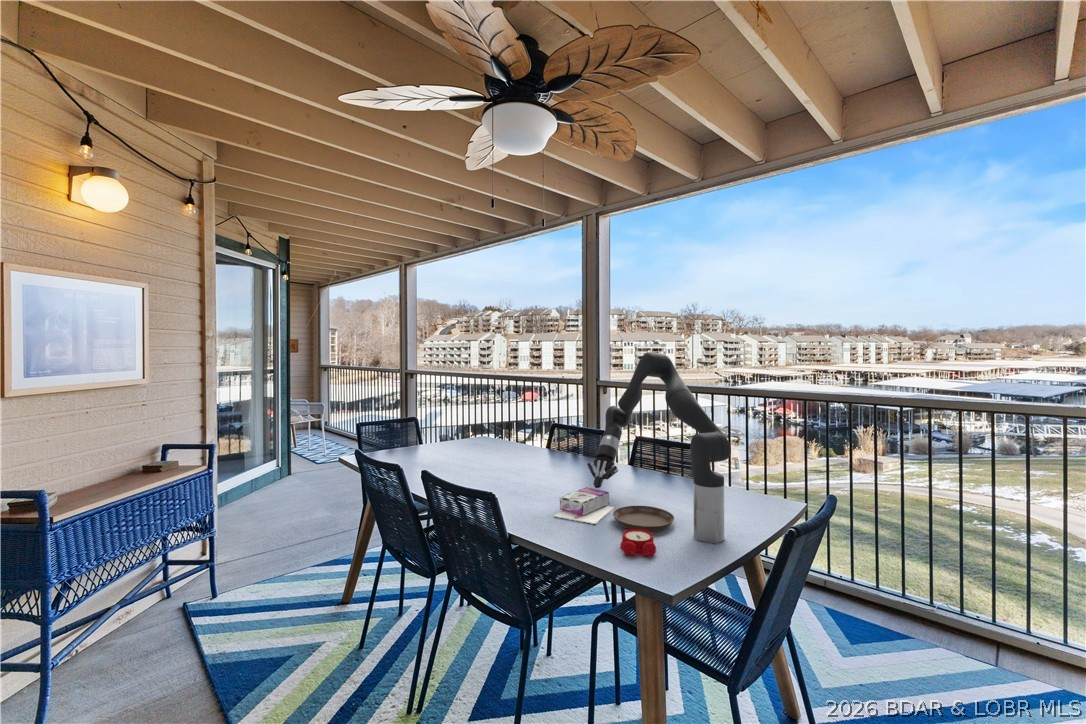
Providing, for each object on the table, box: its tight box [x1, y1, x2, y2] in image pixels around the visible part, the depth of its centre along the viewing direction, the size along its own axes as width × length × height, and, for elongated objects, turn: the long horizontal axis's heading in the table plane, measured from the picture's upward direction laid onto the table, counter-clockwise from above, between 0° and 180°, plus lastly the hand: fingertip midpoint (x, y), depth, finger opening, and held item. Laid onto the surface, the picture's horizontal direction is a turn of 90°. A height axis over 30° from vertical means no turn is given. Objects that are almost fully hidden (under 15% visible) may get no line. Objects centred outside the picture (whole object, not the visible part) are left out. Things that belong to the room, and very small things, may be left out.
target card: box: [554, 505, 615, 525], centre depth 172 cm, size 18×16×1 cm
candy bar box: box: [559, 486, 610, 515], centre depth 176 cm, size 11×5×16 cm
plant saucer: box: [612, 505, 675, 533], centre depth 161 cm, size 21×21×3 cm
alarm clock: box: [620, 529, 657, 558], centre depth 140 cm, size 10×6×15 cm
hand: (596, 487), depth 179 cm, fingers closed
